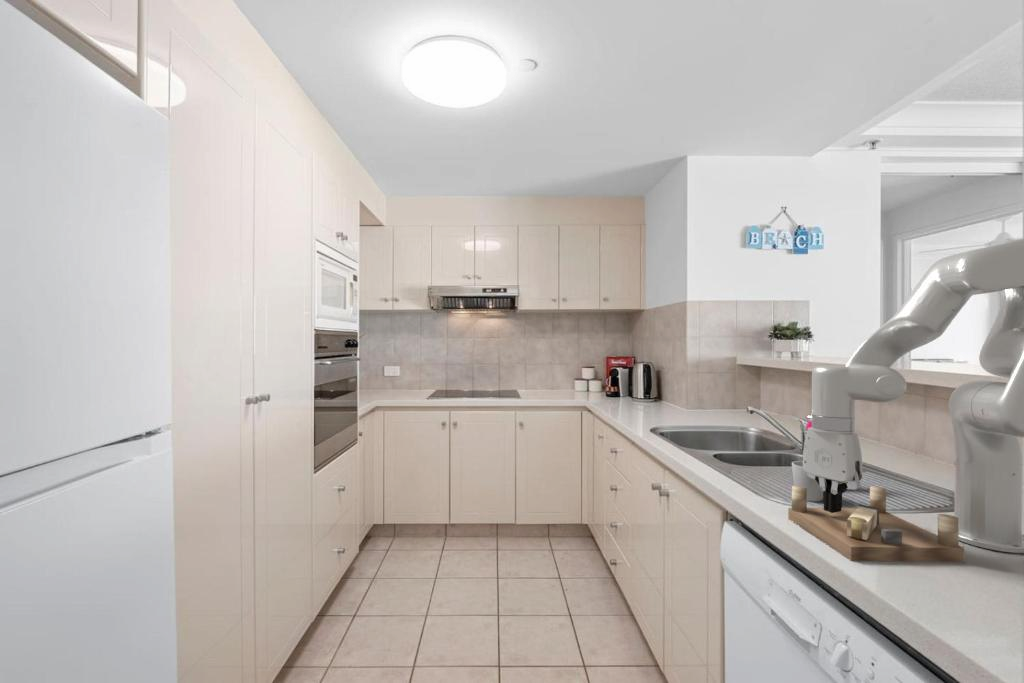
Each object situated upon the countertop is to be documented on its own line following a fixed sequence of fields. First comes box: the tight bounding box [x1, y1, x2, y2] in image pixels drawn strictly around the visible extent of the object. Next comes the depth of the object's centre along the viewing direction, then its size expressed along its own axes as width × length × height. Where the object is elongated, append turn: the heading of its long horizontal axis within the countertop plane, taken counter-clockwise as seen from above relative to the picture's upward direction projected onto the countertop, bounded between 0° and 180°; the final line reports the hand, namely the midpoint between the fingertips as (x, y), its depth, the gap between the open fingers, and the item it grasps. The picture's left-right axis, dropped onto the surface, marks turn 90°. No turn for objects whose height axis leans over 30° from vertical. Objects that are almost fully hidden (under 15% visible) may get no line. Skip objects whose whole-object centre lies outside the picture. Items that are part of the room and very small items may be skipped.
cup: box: [791, 460, 823, 503], centre depth 120 cm, size 8×10×8 cm
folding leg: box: [847, 503, 879, 540], centre depth 93 cm, size 12×3×3 cm, turn 134°
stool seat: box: [787, 485, 965, 563], centre depth 95 cm, size 20×20×8 cm
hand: (832, 510), depth 100 cm, fingers closed
